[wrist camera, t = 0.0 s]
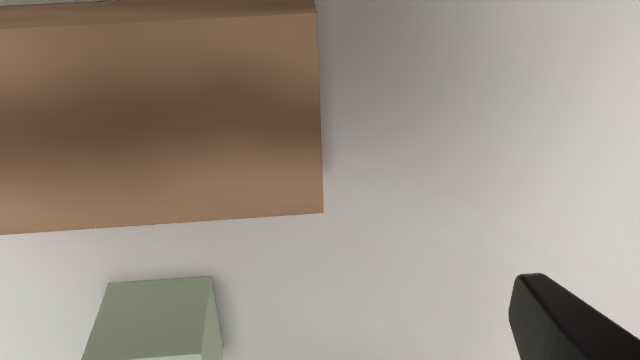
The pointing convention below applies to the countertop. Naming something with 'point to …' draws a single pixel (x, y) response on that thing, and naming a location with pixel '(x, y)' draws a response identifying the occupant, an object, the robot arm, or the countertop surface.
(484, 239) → the countertop surface
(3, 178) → the walnut base
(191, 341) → the sage block
